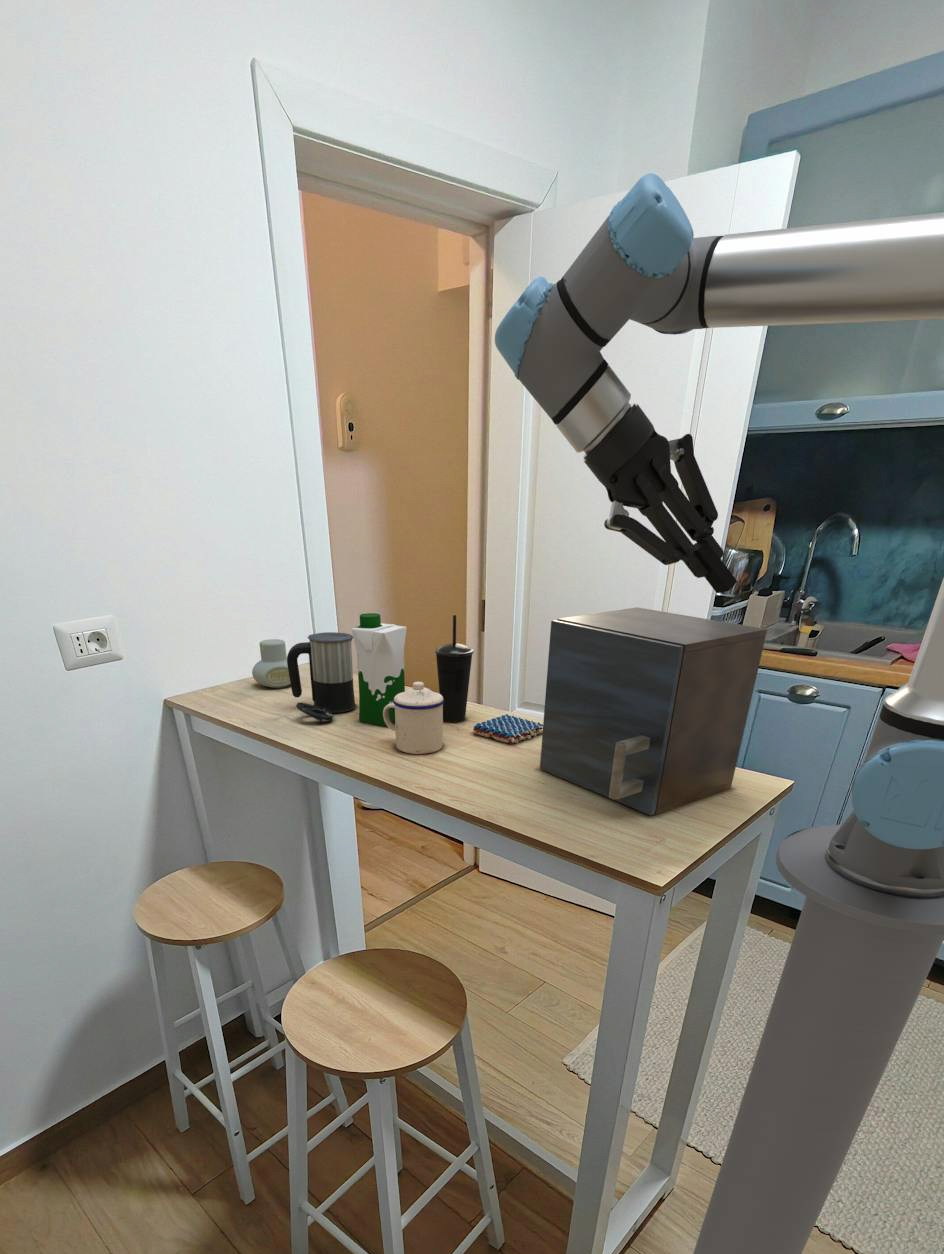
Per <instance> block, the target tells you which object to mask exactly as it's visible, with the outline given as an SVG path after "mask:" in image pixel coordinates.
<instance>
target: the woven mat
mask: <svg viewBox="0 0 944 1254" xmlns="http://www.w3.org/2000/svg"><path fill="white" fill-rule="evenodd" d="M472 730H473V732H474V733H475V734H476V735H478V736H481V737H484V738H493V739H494V740H495V741H499V742H504V743H507V744H508V743H510V744H514V743H515V744H518V743H519V741H522V740H523V741H525V740H531V738H532V737H537V735H539V734H543V723H541V722H539V721H538V722H535V721H533V720H531V721H530V720H528V719H526V718H525V719H523V718H521V717H516V716H514V715H509V714H508V713H506V714H503V715H501V716H497V717H493V718H491V719H487V720H484V721H481V722H478V723H477V722H476V724H475V725H474V726H473V729H472Z"/></svg>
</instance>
